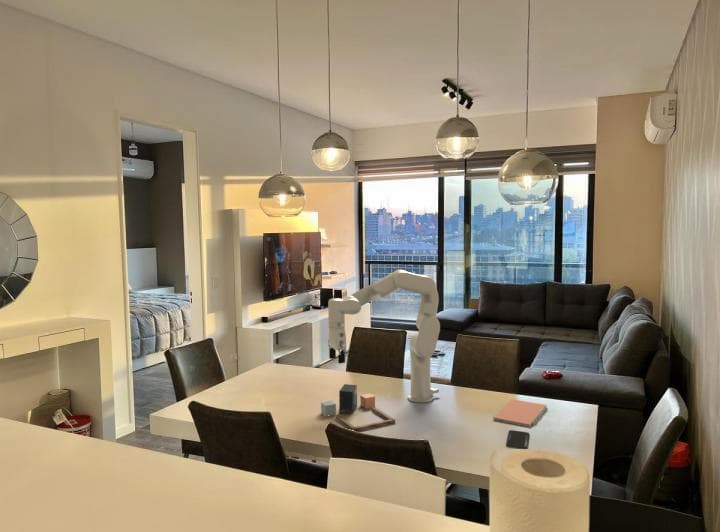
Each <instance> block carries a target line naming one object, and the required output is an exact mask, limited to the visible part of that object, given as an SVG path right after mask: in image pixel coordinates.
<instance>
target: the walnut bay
mask: <svg viewBox="0 0 720 532" xmlns="http://www.w3.org/2000/svg"><path fill="white" fill-rule="evenodd" d="M371 411H372V412H373V413H374V412H375V415H378V416H379V417H380V418H383V419H384V420H381V421H376V422H372V423H367V424H363V425H358V426H354V425H353V424H352V423H350V422H348V421H347V420H346V419H344V418H343V417H342V416H341V415H339V414H336V415H334V419H335V420H336V421H337V422H338V423H340V424H342V425H343V426H344V427H345V428H347V430H349V429H351V430H354V431H358V432H361V431H366V430H370V429H376V428H380V427H385V426H389V425H394V424H396V419H395V418H393V417H391V416H390V415H388V414H386V413H385V412H383V411H382V410H380V409H379V408H377V407H372V408H371ZM351 430H350V431H351Z"/></svg>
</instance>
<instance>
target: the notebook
mask: <svg viewBox="0 0 720 532" xmlns="http://www.w3.org/2000/svg"><path fill="white" fill-rule="evenodd" d="M547 410H548V406H547V404H542V403H538V402H537V403H536V402H531V401H525V400H519V399H511V400H510V401H509V402H507V403H506V404H505V405H504V406H503V407H502V408H500V410H499V411H497V413H495V414H494V415H493V416H492V418H493V421H498V422H503V423H506V424H507V423H508V424H513V425H517V426H522V427H523V426H524V427H528V428H531V427H532V425H533V426H535V425H536V424H537V422H538V421H539V420H540V419H541V418H542V417H543V416H544V414H545V413H546V412H547Z"/></svg>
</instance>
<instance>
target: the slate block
mask: <svg viewBox="0 0 720 532" xmlns="http://www.w3.org/2000/svg"><path fill="white" fill-rule="evenodd" d="M320 406H321V407H320V409H321V411H320V412H321V414H322V413H323V414H324V415H325V416H324V415H323V414H322V415H323V416H324V417H326V416H327V417H329V416H328V415H332V416H335V415H334V414H336V415H337V404H336V403H335V402H333V401H332V400H326V401H322V402H320Z"/></svg>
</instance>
